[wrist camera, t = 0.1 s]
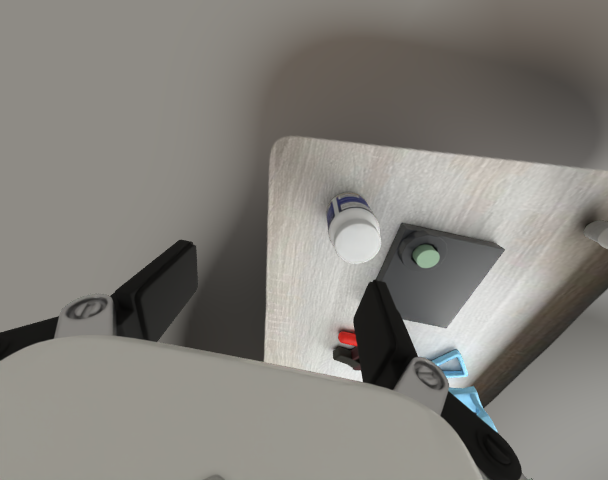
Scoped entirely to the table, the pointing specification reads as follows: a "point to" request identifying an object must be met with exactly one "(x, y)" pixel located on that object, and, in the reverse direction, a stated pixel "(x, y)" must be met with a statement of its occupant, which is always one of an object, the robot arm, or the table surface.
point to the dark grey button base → (435, 273)
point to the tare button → (426, 256)
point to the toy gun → (347, 351)
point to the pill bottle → (353, 228)
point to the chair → (466, 394)
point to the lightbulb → (598, 232)
